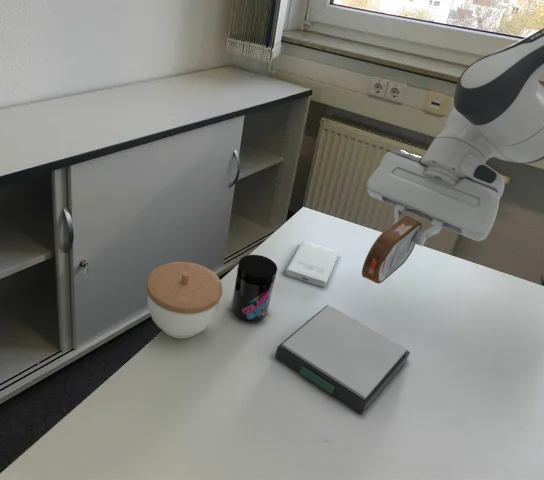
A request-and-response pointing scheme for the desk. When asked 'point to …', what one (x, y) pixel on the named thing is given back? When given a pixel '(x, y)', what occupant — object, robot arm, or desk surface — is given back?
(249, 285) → the supplement container
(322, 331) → the scale
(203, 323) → the lidded bowl
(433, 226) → the robot arm
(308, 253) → the hard drive
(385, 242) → the tin
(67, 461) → the desk surface
